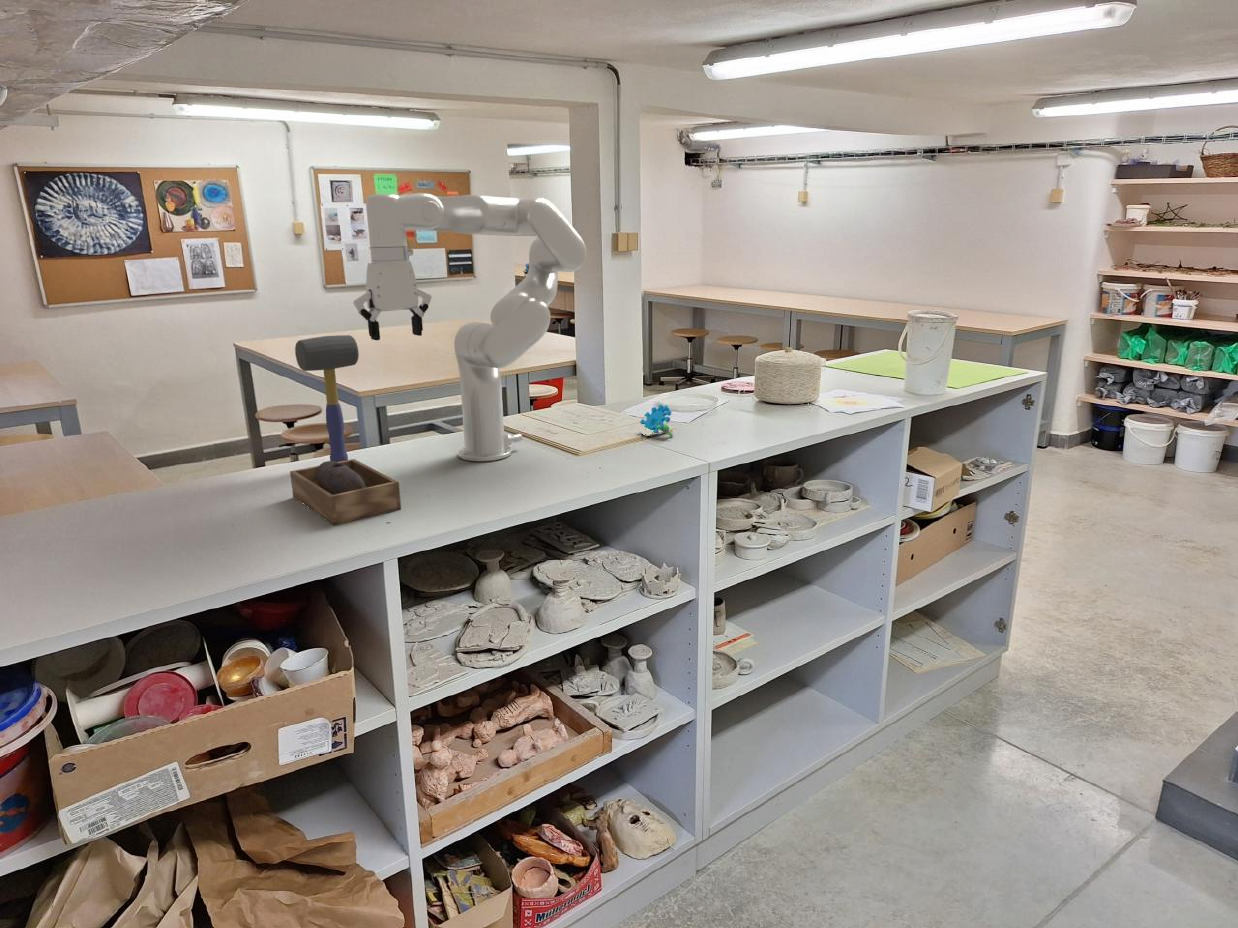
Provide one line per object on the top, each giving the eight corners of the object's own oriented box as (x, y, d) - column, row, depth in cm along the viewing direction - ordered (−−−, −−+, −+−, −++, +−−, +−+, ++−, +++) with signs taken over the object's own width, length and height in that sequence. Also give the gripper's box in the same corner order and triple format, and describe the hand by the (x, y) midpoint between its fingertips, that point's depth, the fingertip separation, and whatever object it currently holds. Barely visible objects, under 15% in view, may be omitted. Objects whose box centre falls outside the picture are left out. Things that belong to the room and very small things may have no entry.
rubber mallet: (319, 474, 187) (303, 340, 179) (307, 467, 193) (291, 337, 184) (372, 463, 195) (359, 335, 186) (358, 457, 200) (345, 331, 192)
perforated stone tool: (377, 505, 165) (374, 471, 163) (353, 511, 161) (349, 477, 159) (340, 489, 175) (336, 457, 173) (316, 495, 171) (312, 462, 169)
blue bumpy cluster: (631, 425, 220) (657, 398, 220) (644, 438, 224) (670, 411, 224) (649, 441, 211) (676, 412, 211) (663, 454, 214) (689, 425, 214)
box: (356, 483, 180) (354, 458, 179) (401, 509, 164) (398, 481, 163) (293, 497, 172) (289, 471, 170) (333, 525, 156) (330, 496, 154)
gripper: (418, 253, 183) (425, 331, 188) (342, 257, 173) (351, 339, 178) (435, 254, 178) (441, 335, 183) (357, 258, 167) (365, 343, 172)
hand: (396, 337), depth 180 cm, fingers open, 9 cm apart
